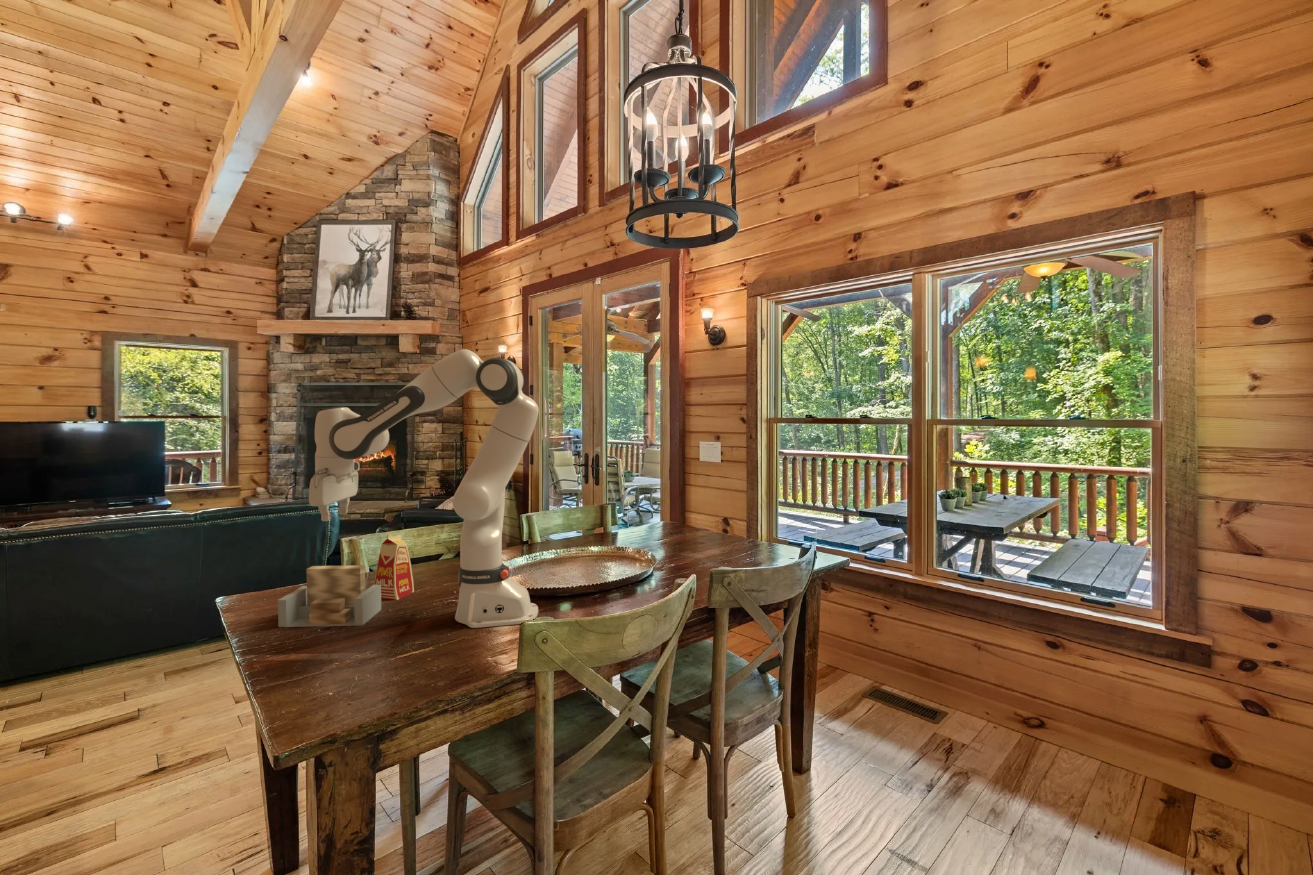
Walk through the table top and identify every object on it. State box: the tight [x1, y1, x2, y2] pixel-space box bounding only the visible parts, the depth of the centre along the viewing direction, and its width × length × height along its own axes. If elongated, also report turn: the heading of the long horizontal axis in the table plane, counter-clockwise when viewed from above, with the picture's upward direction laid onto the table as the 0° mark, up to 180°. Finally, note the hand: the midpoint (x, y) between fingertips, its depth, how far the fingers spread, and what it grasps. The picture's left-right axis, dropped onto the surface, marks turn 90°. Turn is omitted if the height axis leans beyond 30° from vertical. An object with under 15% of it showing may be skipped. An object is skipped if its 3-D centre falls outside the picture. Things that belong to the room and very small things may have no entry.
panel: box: [306, 564, 366, 606], centre depth 158 cm, size 14×3×13 cm, turn 94°
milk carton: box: [373, 534, 415, 601], centre depth 175 cm, size 9×9×20 cm
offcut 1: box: [311, 598, 345, 614], centre depth 152 cm, size 7×3×3 cm, turn 98°
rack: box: [277, 584, 382, 628], centre depth 155 cm, size 21×12×8 cm, turn 94°
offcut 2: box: [309, 609, 351, 625], centre depth 153 cm, size 9×4×3 cm, turn 94°
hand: (334, 517), depth 157 cm, fingers open, 8 cm apart
